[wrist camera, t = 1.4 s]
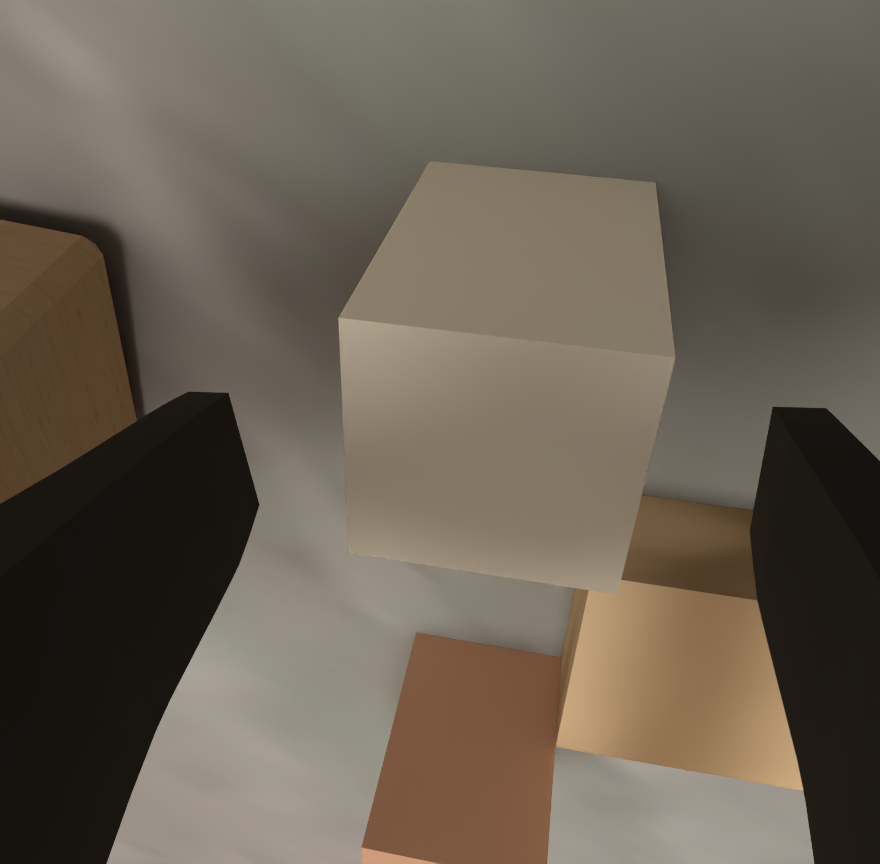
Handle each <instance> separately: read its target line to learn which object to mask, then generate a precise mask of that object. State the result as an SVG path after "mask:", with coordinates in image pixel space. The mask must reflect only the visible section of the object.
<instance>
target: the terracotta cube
mask: <svg viewBox="0 0 880 864" xmlns="http://www.w3.org/2000/svg"><path fill="white" fill-rule="evenodd" d="M560 668H561V657H555V656H549V655H543V654H537V653H531V652H526V651H520V650H514V649H508V648H502V647H497V646H491V645H485V644H479V643H473V642H468V641H462V640H456V639H450V638H444V637H439V636H433V635H427V634H421V633H416V636H415V640H414V644H413V648H412V652H411V656H410V660H409V663H408V667H407V671H406V675H405V679H404V683H403V687H402V691H401V695H400V699H399V703H398V707H397V711H396V714H395V718H394V722H393V726H392V730H391V734H390V738H389V742H388V746H387V750H386V754H385V758H384V762H383V766H382V769H381V773H380V777H379V781H378V785H377V789H376V793H375V797H374V801H373V805H372V809H371V813H370V817H369V820H368V824H367V828H366V832H365V836H364V840H363V844H362V864H547V855H548V840H549V826H550V812H551V797H552V783H553V769H554V754H555V740H556V726H557V711H558V697H559V683H560Z"/></svg>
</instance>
